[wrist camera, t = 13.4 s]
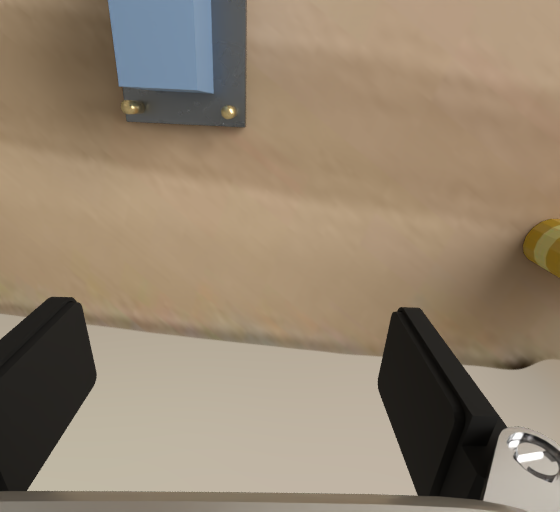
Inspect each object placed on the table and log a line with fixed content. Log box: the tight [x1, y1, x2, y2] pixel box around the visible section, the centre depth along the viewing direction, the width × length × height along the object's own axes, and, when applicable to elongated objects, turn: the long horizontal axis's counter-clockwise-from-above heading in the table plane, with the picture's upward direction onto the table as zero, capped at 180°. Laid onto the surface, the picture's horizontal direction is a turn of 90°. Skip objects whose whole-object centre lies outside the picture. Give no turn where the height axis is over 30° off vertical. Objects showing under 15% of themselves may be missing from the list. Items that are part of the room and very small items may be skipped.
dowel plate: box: [121, 0, 247, 127], centre depth 30 cm, size 12×18×4 cm, turn 177°
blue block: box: [108, 0, 214, 94], centre depth 28 cm, size 12×6×8 cm, turn 177°
